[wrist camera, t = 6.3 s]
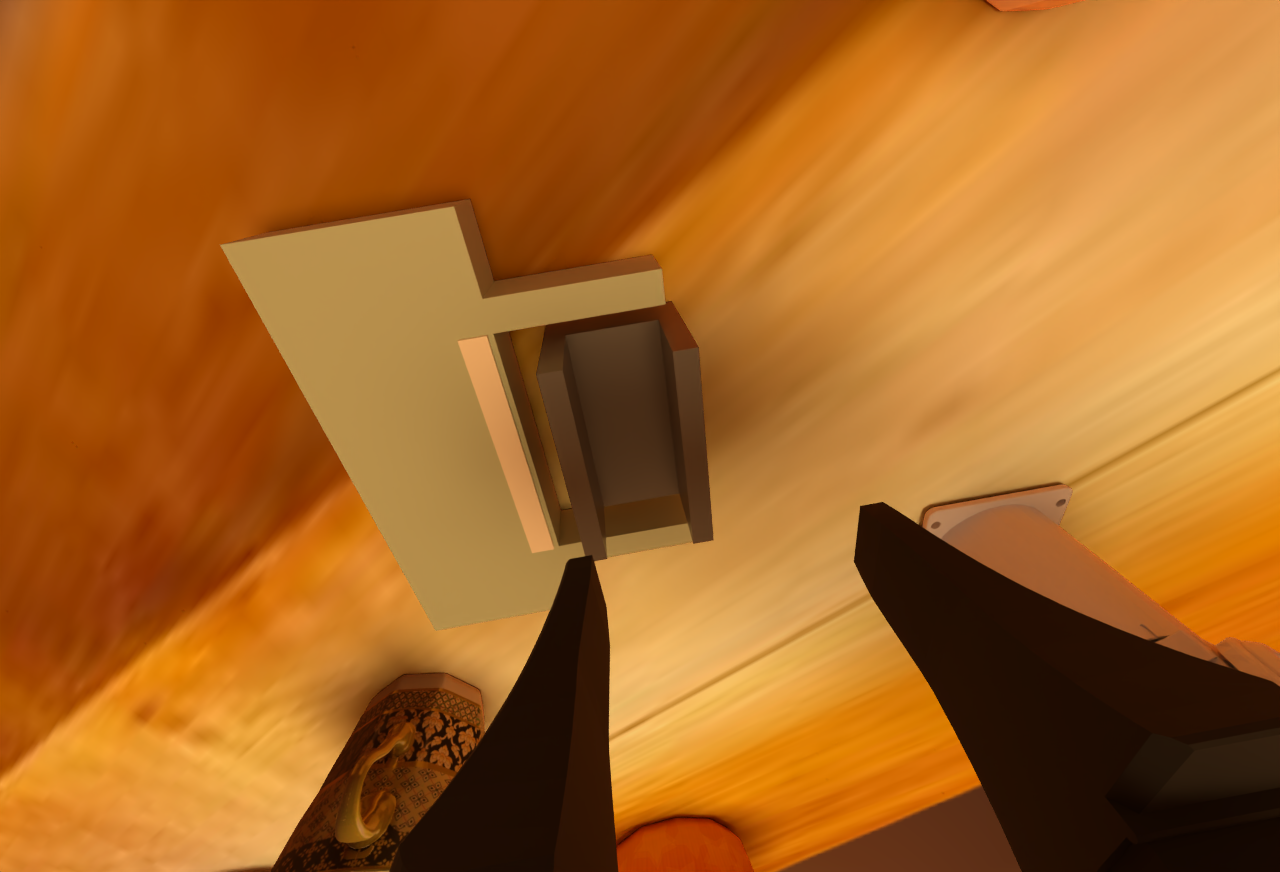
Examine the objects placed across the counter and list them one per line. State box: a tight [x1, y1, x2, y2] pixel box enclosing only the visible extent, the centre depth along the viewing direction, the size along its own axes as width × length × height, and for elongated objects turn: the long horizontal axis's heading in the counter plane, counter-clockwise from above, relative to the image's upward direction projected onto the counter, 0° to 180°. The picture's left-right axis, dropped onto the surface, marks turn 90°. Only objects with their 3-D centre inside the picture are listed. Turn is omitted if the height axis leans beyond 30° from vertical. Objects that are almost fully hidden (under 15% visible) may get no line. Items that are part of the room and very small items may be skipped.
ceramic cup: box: [271, 673, 485, 872], centre depth 26 cm, size 13×10×10 cm
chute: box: [536, 301, 713, 561], centre depth 19 cm, size 8×5×5 cm, turn 8°
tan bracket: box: [220, 199, 692, 631], centre depth 20 cm, size 18×13×3 cm
